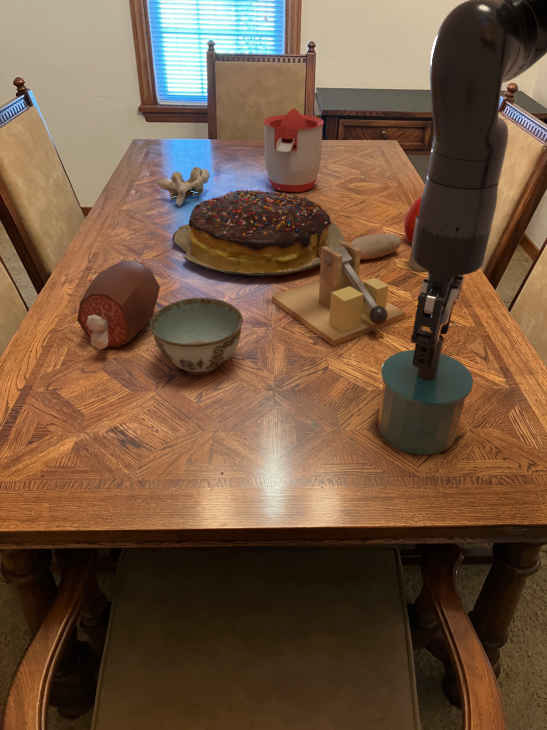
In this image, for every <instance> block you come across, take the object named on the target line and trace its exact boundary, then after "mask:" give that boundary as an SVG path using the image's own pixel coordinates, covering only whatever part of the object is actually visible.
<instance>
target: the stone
mask: <svg viewBox="0 0 547 730" xmlns="http://www.w3.org/2000/svg"><path fill="white" fill-rule="evenodd" d="M350 244H352V245H354V246H355V247H357V248H359V249H361V256H360V260H372V259H378V258H382V257H384V256H387V255H390V254H392V253H394V252H395V251H396V250H398V249H399V247H400V246H401V245H402V239H401V237H400V236H399V235H397V234H393V233H379V234H377V233H375V234H368V235H362V236H358V237H356V238H354V239H352V241H351V242H350Z"/></svg>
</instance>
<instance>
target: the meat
mask: <svg viewBox="0 0 547 730" xmlns="http://www.w3.org/2000/svg"><path fill="white" fill-rule="evenodd" d="M160 289H161V286H160V284H159V282H158V280H157V279H156V276H155V275H154V272H153V271H152V269H151V268H149V267H148V266H146V265H145V263H144V262H143V261H142V260H141V259H139V258H135V259H132V260H120V261H118V262H116V263H114V264H113V265H111V266H109V267H107V268H105V269H103V270H101V271H100V272H99V273H98V274H97V275H96V276H95V277H94V278H93V280H92V281H91V282H90V284H89V285H88V286H87V289H86V290H85V292H84V294H83V296H82V298H81V299H80V302H79V306H78V313H77V318H76V320H77V323H78V324H79V325H80V327H81V329H82V331H83V332H84V334H85V336H86V337H87V338H88V339H90V344H91V346H93V347H94V348H95V349H97V350H99V351H100V350H104V349H105V348H107V347H108V348H109V347H110V348H119V347H120V346H122V345H124V344H126V343H128V342H129V341H131V340H132V339H133V338H134V337H136V335H137V334H139V332H140V331H141V330H142V329H144V327H145V326H146V325H147V323H148V322H150V320H151V319H152V317H153V315H154V312H155V311H154V310H155V308H156V304H157V301H158V299H159V294H160Z"/></svg>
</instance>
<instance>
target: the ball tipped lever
mask: <svg viewBox="0 0 547 730" xmlns="http://www.w3.org/2000/svg"><path fill="white" fill-rule="evenodd" d="M334 251H336V252H338V253H340V254H341V255H343V256H342V269H343V270H344V272H345V274H346V275H347V277H348V278H349V280H350V281H351V283H352V284H353V286H354V287H355V289H356V290H357V291H359V292H361V293H362V294H364V295H363V301H364V302H365V304H366V305H367V307H368V308H369V310H370V313H369V318H370V320H371V321H372V322H373V323H374V324H382V323H384V322H385V321H386V320H387V317H388V313H387V310H386V309H385V308H384V307H382V306H377V304H376V303H375V301H374V300H373V298H372V297H371V295H370V294H369V292H368V291H367V289H366V288H365V286H364V282H362V280H361V279H360V277H358V276H357V274H356V273H355V271H354V270H353V268H352V267H351V265H350V264H349V263H350V262H351V260H352V257H351V256H350V254H349V253H348V251H347V250H346V248H345V247H344V246H343V247H339V248H336V249H334Z"/></svg>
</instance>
